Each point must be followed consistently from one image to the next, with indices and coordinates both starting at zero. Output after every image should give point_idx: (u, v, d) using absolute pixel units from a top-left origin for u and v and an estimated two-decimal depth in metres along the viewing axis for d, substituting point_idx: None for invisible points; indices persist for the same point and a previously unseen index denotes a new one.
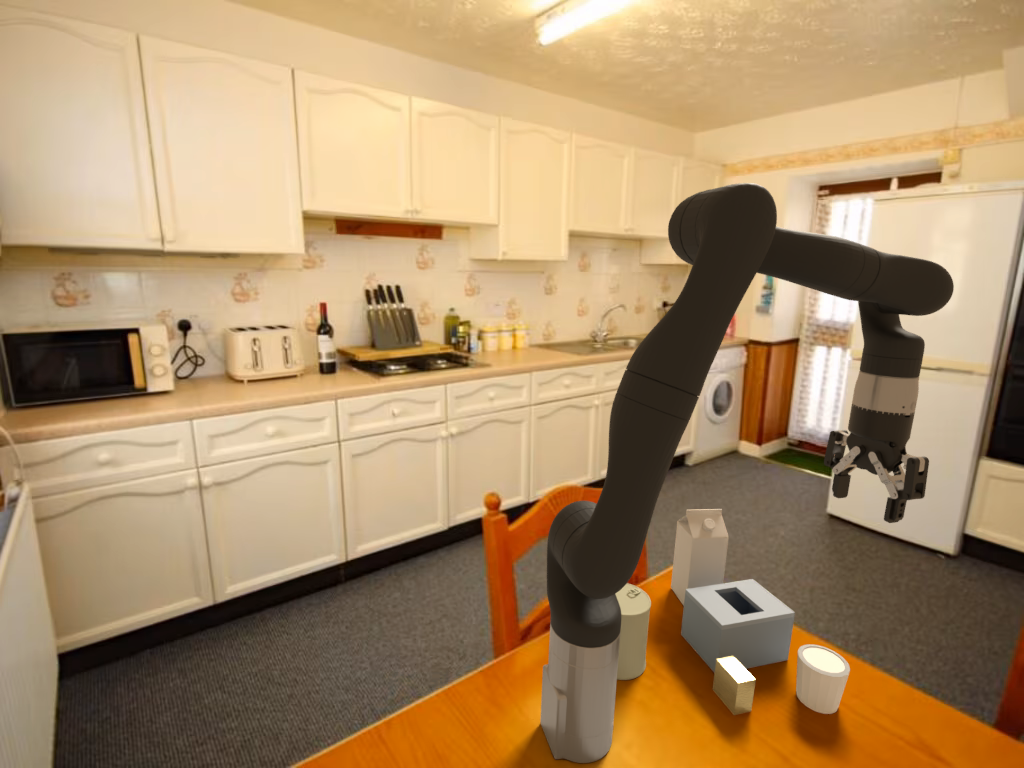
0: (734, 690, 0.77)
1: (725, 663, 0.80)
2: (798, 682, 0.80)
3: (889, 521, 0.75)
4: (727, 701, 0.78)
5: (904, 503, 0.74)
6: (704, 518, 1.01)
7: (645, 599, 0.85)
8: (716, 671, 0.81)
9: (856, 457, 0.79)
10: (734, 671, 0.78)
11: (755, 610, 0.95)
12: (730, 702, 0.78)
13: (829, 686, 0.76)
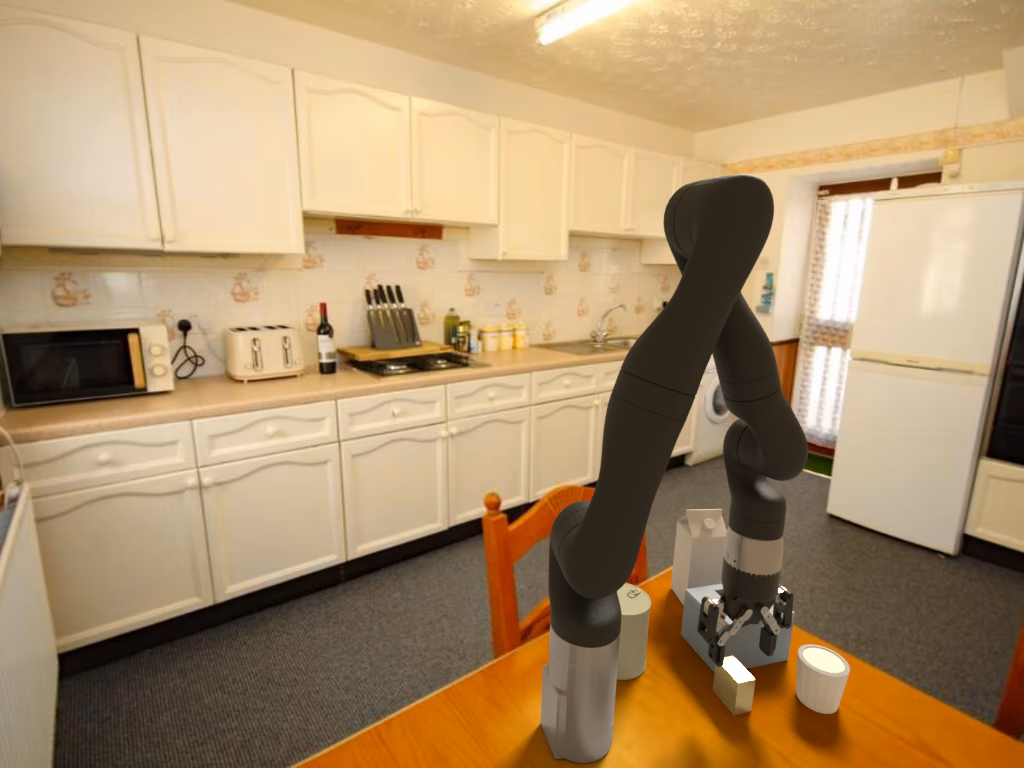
0: (734, 690, 0.77)
1: (725, 663, 0.80)
2: (798, 682, 0.80)
3: None
4: (727, 701, 0.78)
5: None
6: (704, 518, 1.01)
7: (645, 599, 0.85)
8: (716, 671, 0.81)
9: None
10: (734, 671, 0.78)
11: None
12: (730, 702, 0.78)
13: (829, 686, 0.76)
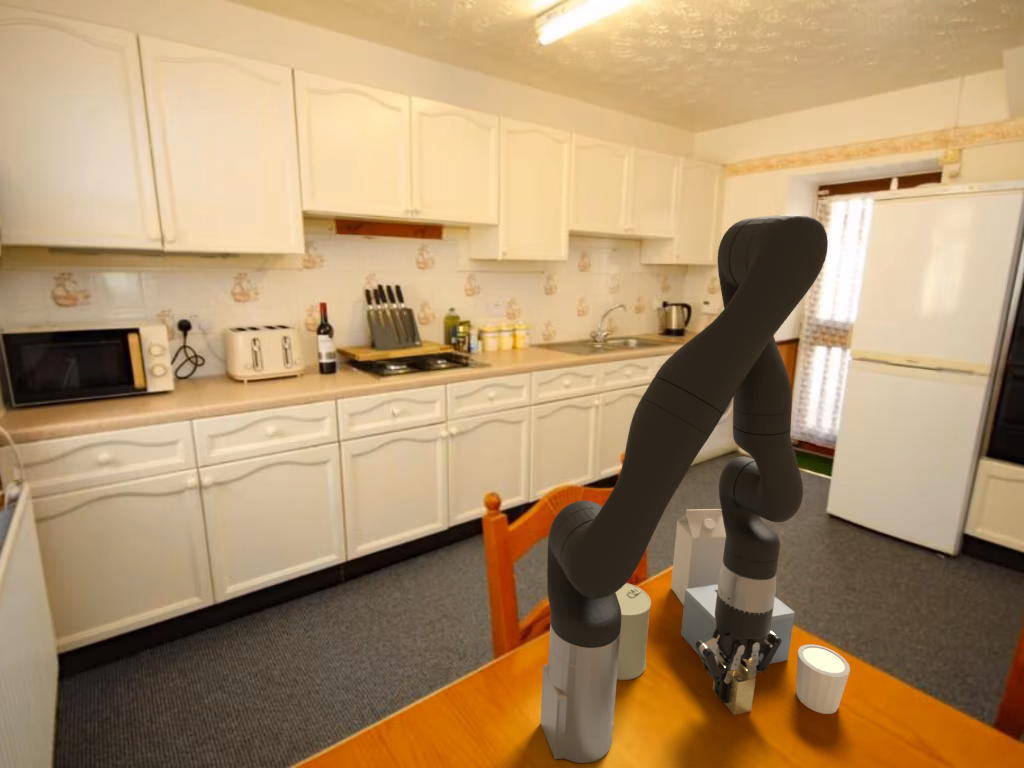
0: (734, 690, 0.77)
1: None
2: (798, 682, 0.80)
3: None
4: None
5: None
6: (704, 518, 1.01)
7: (645, 599, 0.85)
8: None
9: None
10: None
11: None
12: (730, 701, 0.78)
13: (829, 686, 0.76)
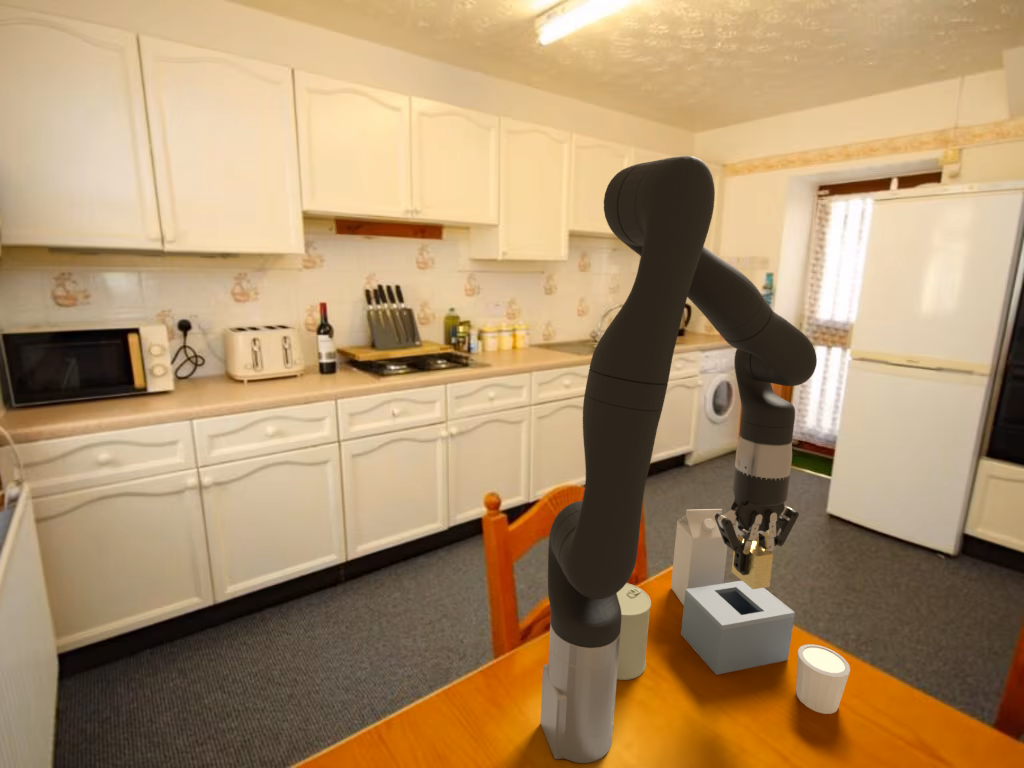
0: (752, 565, 0.80)
1: None
2: (798, 682, 0.80)
3: None
4: (746, 578, 0.81)
5: None
6: (704, 518, 1.01)
7: (645, 599, 0.85)
8: None
9: None
10: (752, 548, 0.81)
11: (755, 610, 0.95)
12: (749, 578, 0.81)
13: (829, 686, 0.76)
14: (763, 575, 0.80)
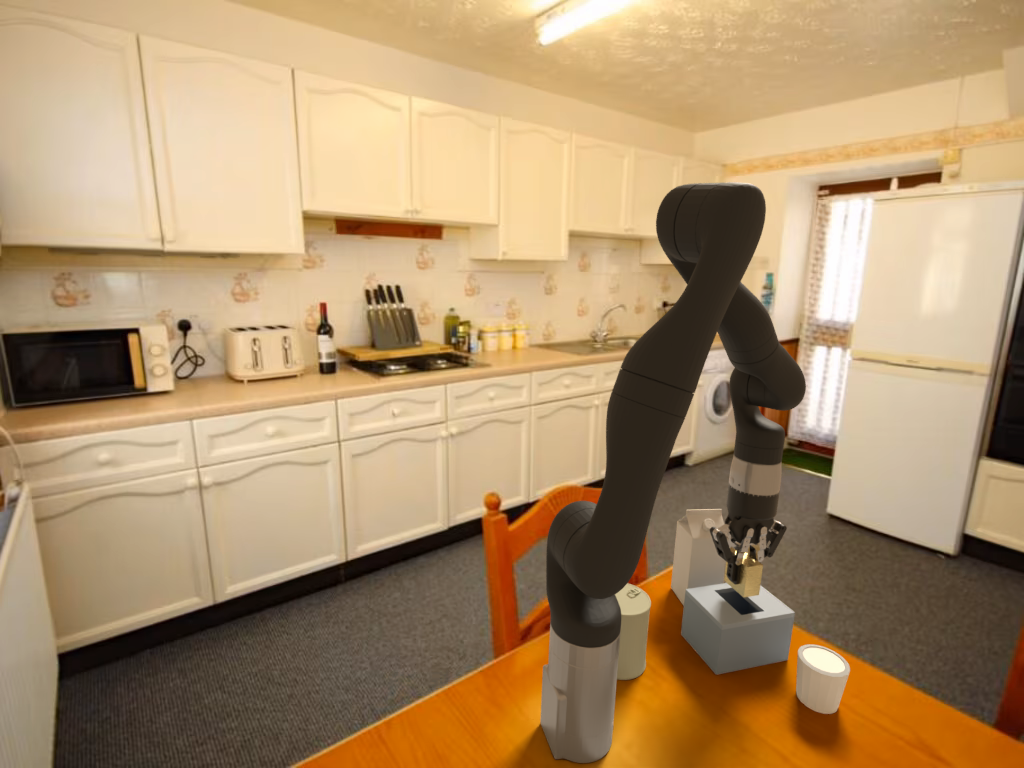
0: (744, 575, 0.86)
1: (735, 554, 0.89)
2: (798, 682, 0.80)
3: None
4: (737, 586, 0.88)
5: None
6: (704, 518, 1.01)
7: (645, 599, 0.85)
8: (727, 562, 0.90)
9: None
10: (743, 559, 0.87)
11: (755, 610, 0.95)
12: (740, 586, 0.87)
13: (829, 686, 0.76)
14: (753, 584, 0.86)
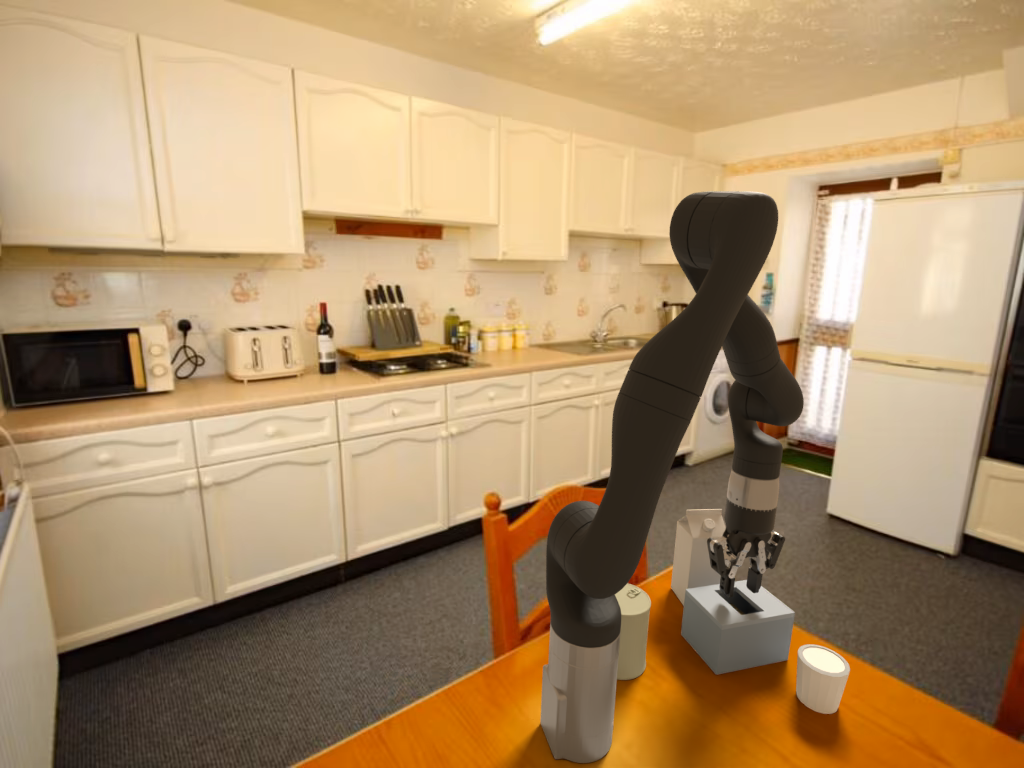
0: None
1: None
2: (798, 682, 0.80)
3: None
4: None
5: None
6: (704, 518, 1.01)
7: (645, 599, 0.85)
8: None
9: None
10: None
11: (755, 610, 0.95)
12: None
13: (829, 686, 0.76)
14: None
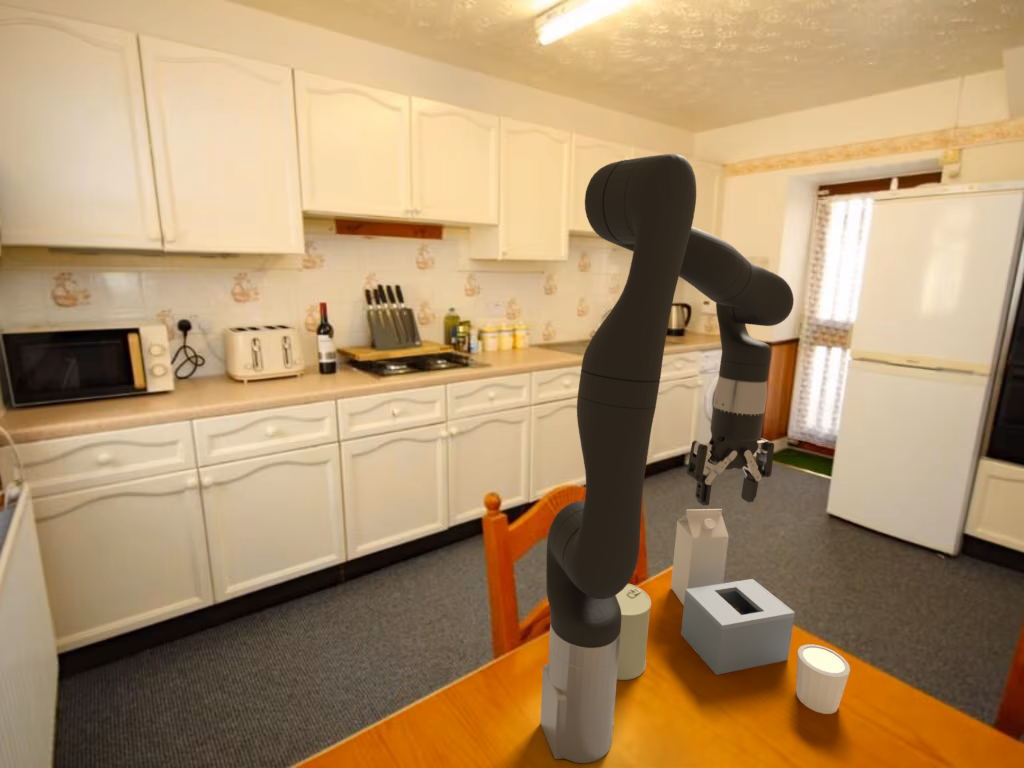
0: None
1: None
2: (798, 682, 0.80)
3: None
4: None
5: None
6: (704, 518, 1.01)
7: (645, 599, 0.85)
8: None
9: None
10: None
11: (755, 610, 0.95)
12: None
13: (829, 686, 0.76)
14: None
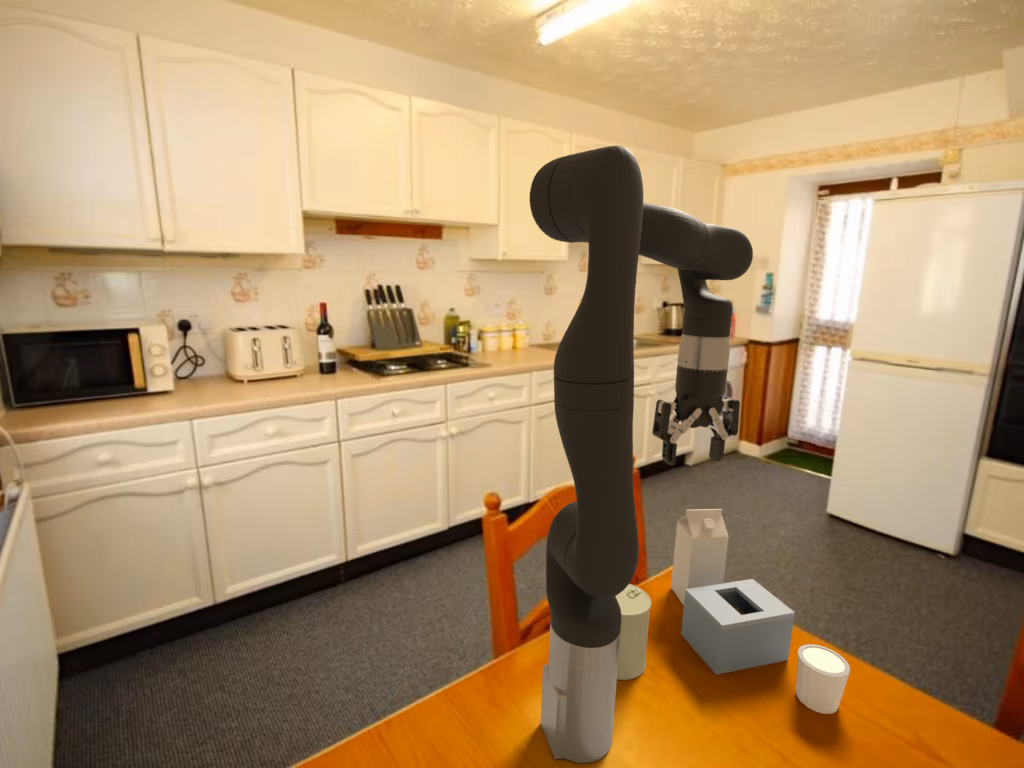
0: None
1: None
2: (798, 682, 0.80)
3: None
4: None
5: None
6: (704, 518, 1.01)
7: (645, 599, 0.85)
8: None
9: None
10: None
11: (755, 610, 0.95)
12: None
13: (829, 686, 0.76)
14: None
